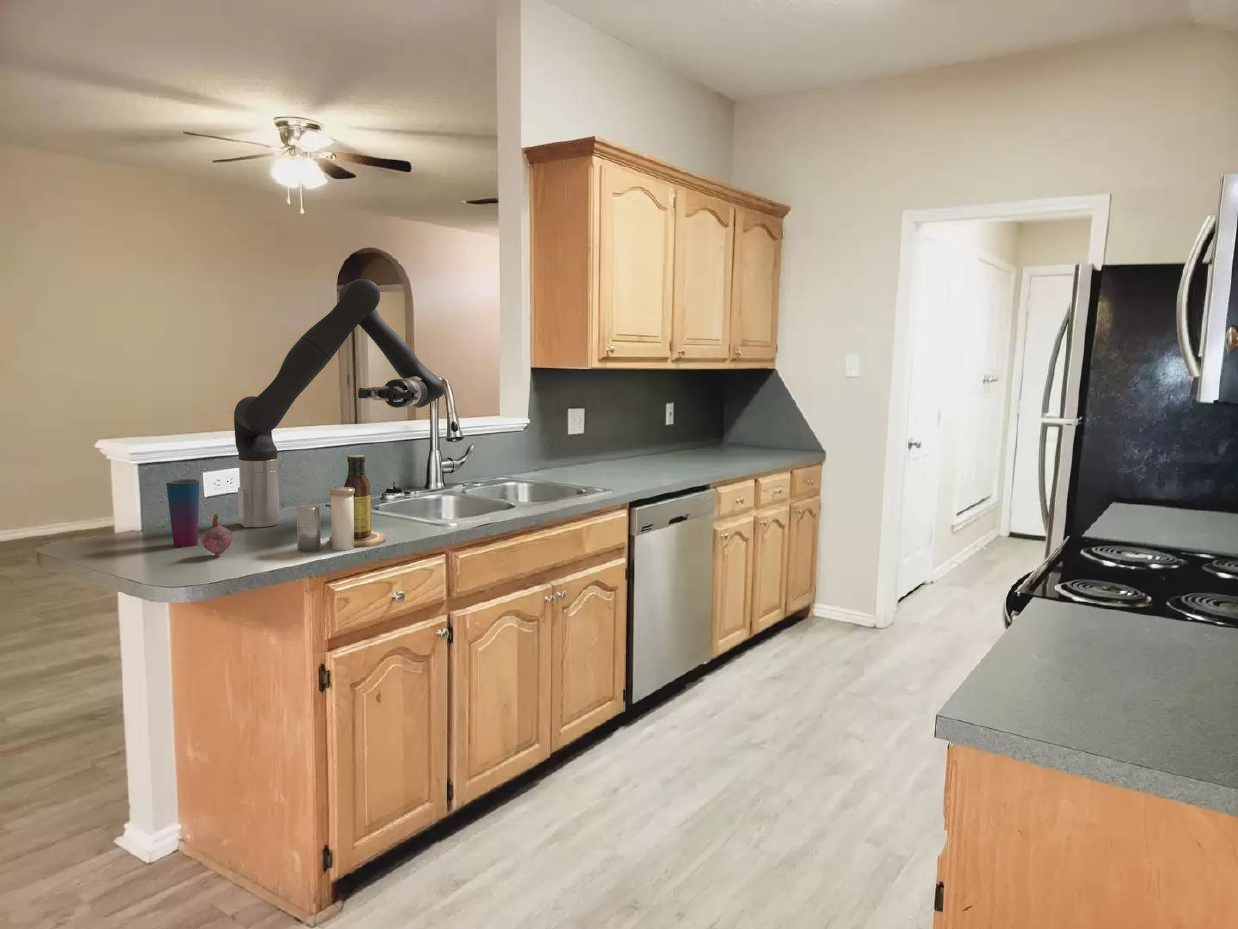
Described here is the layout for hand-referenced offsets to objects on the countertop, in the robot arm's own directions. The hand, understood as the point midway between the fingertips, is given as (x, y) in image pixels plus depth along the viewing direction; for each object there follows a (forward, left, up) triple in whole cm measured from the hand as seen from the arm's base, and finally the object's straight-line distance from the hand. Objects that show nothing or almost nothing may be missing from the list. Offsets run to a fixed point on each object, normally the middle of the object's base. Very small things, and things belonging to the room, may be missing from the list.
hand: (376, 394), depth 209 cm
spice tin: (-20, -11, -35) cm, 42 cm away
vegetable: (-39, -7, -35) cm, 53 cm away
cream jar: (-13, -13, -35) cm, 39 cm away
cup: (-43, +8, -35) cm, 56 cm away
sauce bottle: (-8, -8, -34) cm, 36 cm away
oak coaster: (-8, -8, -35) cm, 37 cm away
